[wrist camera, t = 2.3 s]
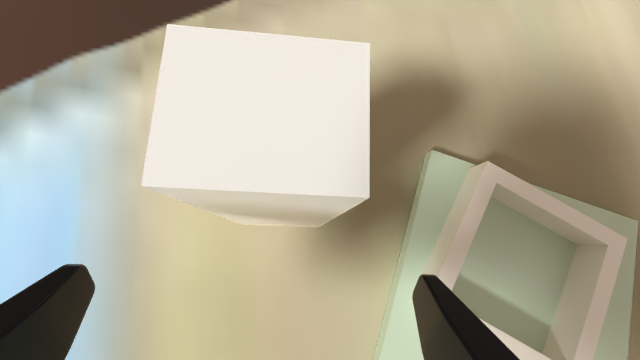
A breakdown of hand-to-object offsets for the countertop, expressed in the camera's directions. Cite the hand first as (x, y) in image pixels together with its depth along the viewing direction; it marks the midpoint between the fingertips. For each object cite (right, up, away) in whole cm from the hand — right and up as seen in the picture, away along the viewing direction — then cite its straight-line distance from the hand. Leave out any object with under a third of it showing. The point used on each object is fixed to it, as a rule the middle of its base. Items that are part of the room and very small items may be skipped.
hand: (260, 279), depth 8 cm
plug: (-1, +2, +11) cm, 12 cm away
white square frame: (+13, -3, +12) cm, 18 cm away
